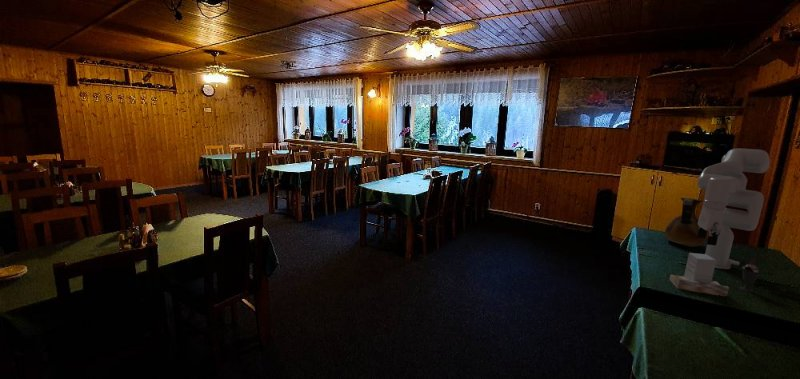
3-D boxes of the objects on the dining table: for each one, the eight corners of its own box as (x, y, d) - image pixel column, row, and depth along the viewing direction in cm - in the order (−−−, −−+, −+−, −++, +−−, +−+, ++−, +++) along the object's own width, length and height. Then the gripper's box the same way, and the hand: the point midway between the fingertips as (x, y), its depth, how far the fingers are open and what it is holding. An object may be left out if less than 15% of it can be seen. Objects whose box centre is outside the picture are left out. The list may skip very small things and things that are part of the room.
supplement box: (701, 278, 162) (706, 254, 160) (711, 286, 155) (717, 260, 152) (683, 276, 164) (688, 252, 161) (692, 284, 157) (698, 258, 154)
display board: (715, 286, 160) (717, 277, 159) (726, 296, 151) (729, 287, 150) (669, 279, 166) (671, 270, 166) (677, 288, 157) (679, 279, 156)
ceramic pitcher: (704, 244, 216) (714, 198, 209) (702, 253, 201) (713, 204, 195) (665, 236, 229) (674, 193, 222) (661, 244, 214) (670, 198, 208)
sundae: (750, 287, 160) (758, 258, 157) (759, 294, 154) (768, 263, 151) (732, 285, 162) (740, 255, 159) (741, 291, 156) (749, 261, 153)
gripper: (695, 199, 161) (688, 234, 165) (713, 208, 145) (704, 246, 149) (715, 201, 158) (707, 236, 162) (735, 210, 143) (726, 249, 146)
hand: (706, 241), depth 155 cm, fingers open, 9 cm apart
